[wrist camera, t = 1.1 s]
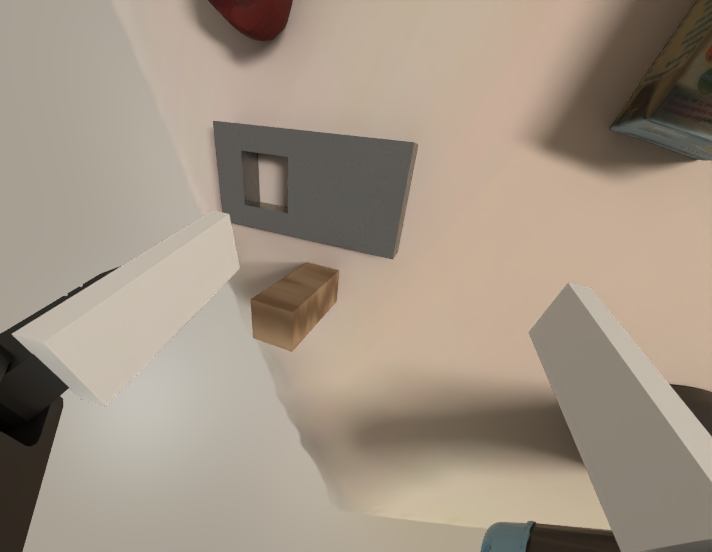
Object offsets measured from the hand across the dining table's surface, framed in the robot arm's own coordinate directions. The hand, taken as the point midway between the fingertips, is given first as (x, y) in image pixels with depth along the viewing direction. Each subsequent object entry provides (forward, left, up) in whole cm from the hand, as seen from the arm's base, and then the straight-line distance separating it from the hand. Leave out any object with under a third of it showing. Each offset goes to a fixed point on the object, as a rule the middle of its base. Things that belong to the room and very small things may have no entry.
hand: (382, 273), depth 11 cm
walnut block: (-13, +12, -22) cm, 28 cm away
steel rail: (0, +14, -22) cm, 26 cm away
